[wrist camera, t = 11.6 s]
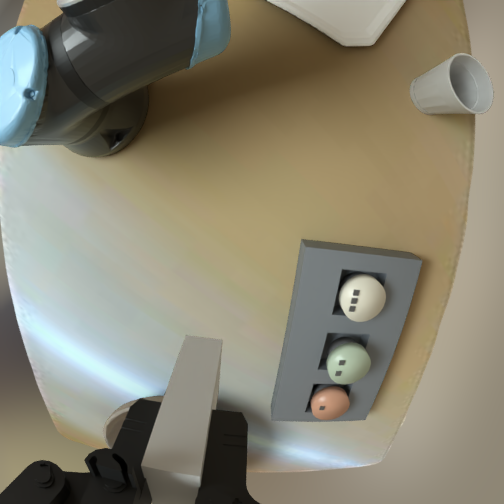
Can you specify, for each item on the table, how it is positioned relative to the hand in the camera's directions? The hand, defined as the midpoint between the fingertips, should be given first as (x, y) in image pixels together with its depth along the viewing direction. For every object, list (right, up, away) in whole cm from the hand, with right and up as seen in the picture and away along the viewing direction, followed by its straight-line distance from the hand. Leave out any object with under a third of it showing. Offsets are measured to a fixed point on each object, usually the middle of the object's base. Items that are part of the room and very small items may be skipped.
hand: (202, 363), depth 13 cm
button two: (+16, -11, +34) cm, 39 cm away
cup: (+29, +29, +25) cm, 48 cm away
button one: (+15, -20, +38) cm, 45 cm away
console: (+16, -10, +37) cm, 41 cm away
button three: (+17, -1, +32) cm, 37 cm away
